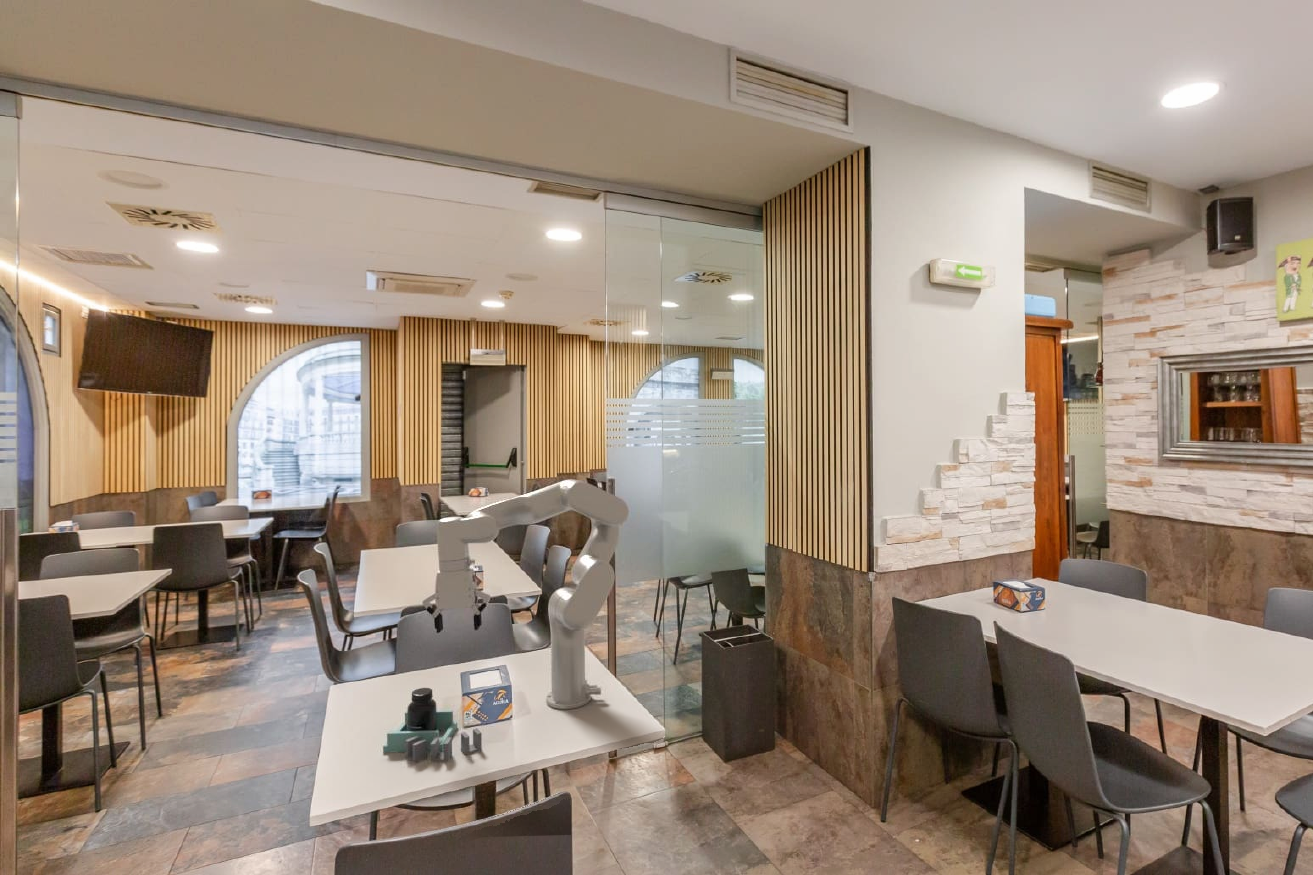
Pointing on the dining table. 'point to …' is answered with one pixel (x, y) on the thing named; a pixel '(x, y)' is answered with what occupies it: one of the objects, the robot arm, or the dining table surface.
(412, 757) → the clip
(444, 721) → the end holder
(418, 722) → the supplement bottle
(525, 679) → the dining table surface
